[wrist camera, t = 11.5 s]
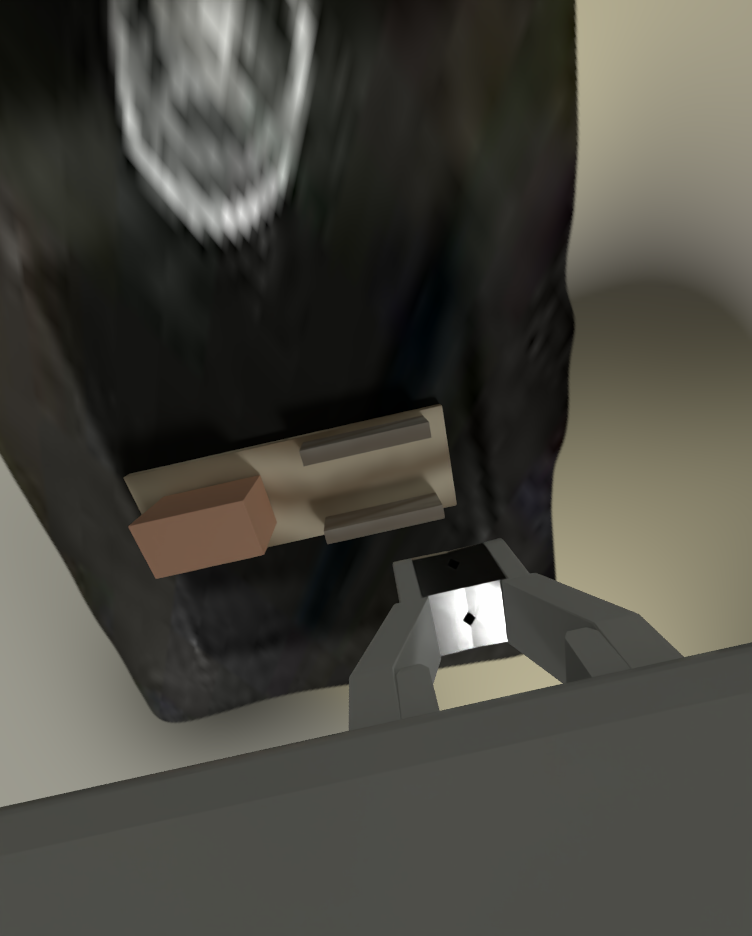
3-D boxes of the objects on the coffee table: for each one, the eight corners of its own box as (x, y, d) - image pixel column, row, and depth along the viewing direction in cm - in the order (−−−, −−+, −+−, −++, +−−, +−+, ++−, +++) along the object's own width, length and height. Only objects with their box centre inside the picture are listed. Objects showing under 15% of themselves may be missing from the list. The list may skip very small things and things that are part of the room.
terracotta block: (163, 496, 36) (128, 526, 30) (260, 475, 36) (243, 500, 30) (184, 542, 38) (155, 578, 32) (277, 522, 38) (264, 554, 32)
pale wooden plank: (129, 474, 36) (103, 489, 32) (439, 403, 36) (449, 411, 32) (173, 563, 40) (155, 587, 36) (454, 500, 39) (465, 518, 36)
